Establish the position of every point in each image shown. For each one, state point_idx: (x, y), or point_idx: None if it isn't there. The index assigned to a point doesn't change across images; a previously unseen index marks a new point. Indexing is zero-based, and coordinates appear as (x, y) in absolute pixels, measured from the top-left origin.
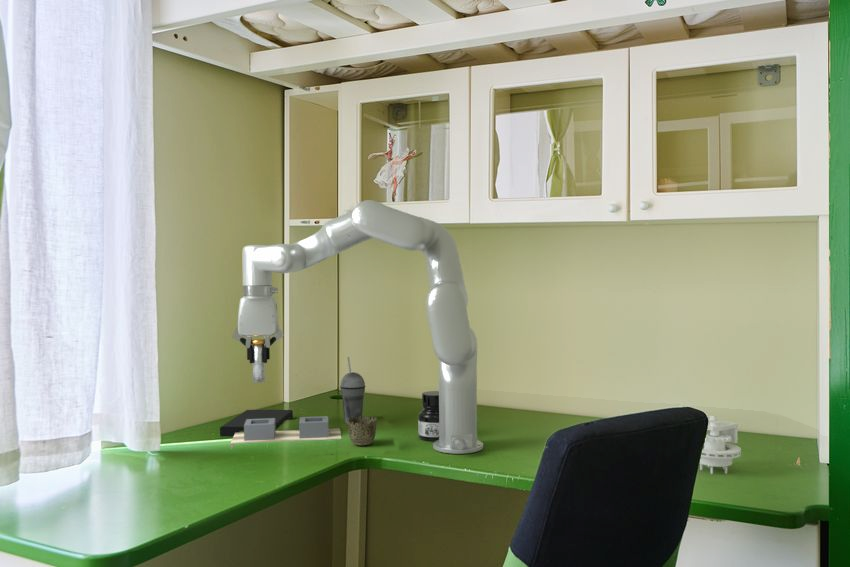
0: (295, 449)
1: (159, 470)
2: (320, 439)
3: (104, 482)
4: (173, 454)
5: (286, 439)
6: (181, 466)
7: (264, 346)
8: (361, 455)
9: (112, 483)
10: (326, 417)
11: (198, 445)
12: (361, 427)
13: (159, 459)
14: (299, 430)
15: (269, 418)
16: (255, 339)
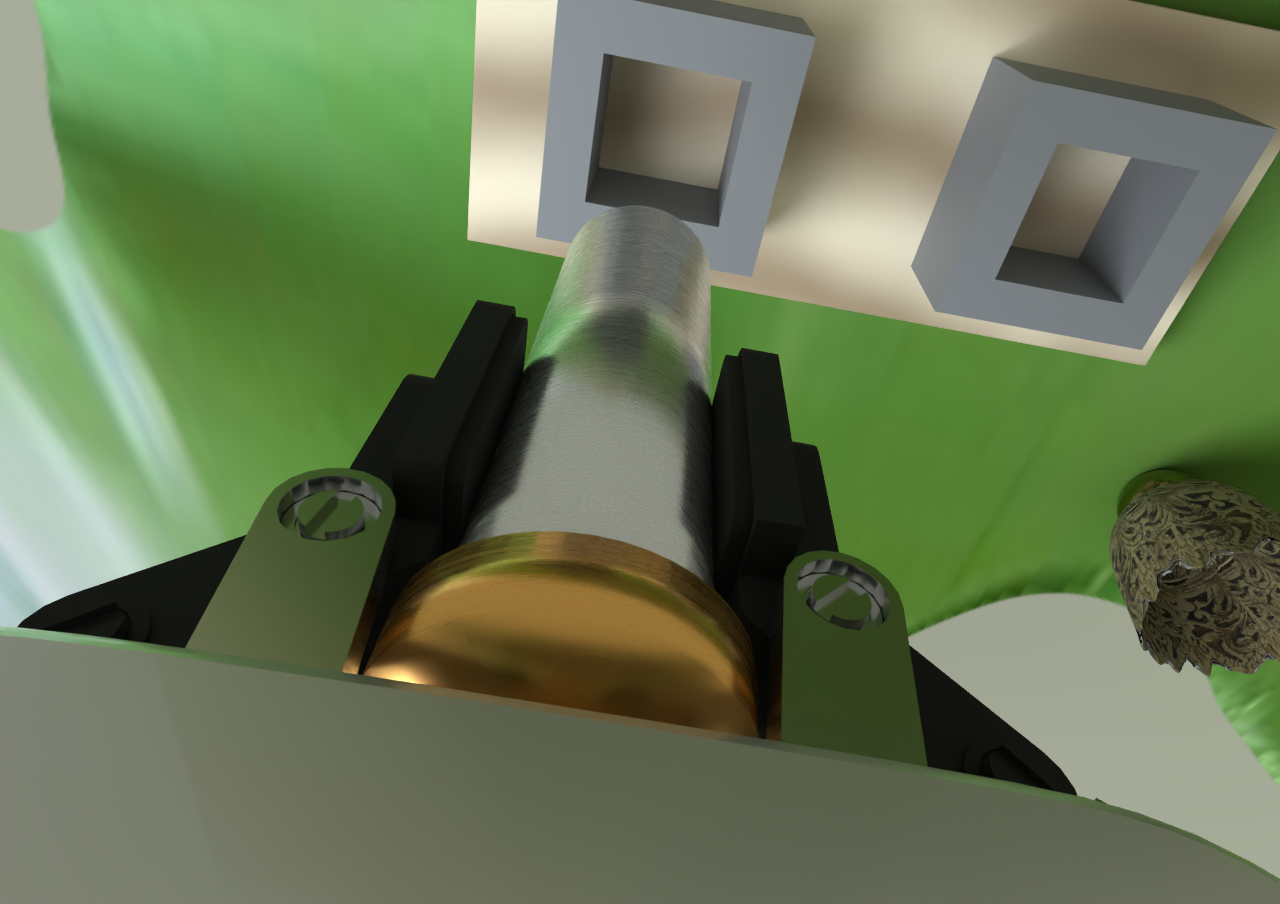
0: (841, 357)
1: (198, 482)
2: (1021, 337)
3: (46, 555)
4: (158, 224)
5: (824, 263)
6: (278, 457)
7: None
8: (1093, 560)
9: (84, 573)
10: (1229, 185)
11: (247, 30)
12: (1169, 647)
13: (120, 305)
14: (923, 288)
15: (763, 35)
16: (476, 692)
